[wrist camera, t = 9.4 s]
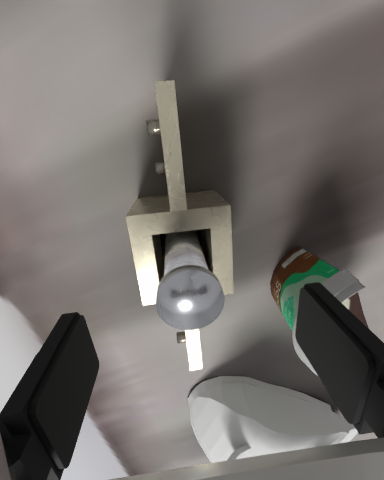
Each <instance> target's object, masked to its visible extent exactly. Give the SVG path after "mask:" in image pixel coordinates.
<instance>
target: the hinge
mask: <svg viewBox="0 0 384 480" xmlns="http://www.w3.org/2000/svg"><path fill="white" fill-rule="evenodd" d="M155 90H156V99H157V107H158V115H159V119H154V120H146V122H147V130H148V135H149V136H150V135H161V139H162V147H163V155H164V162H157V163H155V168H156V174H157V175H158V174H166V179H167V187H168V195H161V196H151V197H142V198H137V200H136V201H135V203H134V204H133V206H132V207H131V209H130V211H129V212H128V214H127V215H126V221H127V226H128V231H129V236H130V241H131V246H132V251H133V257H134V262H135V267H136V272H137V277H138V282H139V287H140V293H141V298H142V303H143V305H149V304H156V293H157V287H158V285H159V282H160V281H161V279H162V278H163V277H164V266H165V251H163V252H162V248H161V241H160V234H164V233H173V232H182V231H191V230H200V229H201V234H202V247H201V249H202V252H203V255H204V258H205V261H206V264H207V267H208V270H210V271H211V272H212V273H214V274H215V276H216V277H217V278H218V280H219V282H220V284H221V287H222V290H223V293H224V295H227V294H234V293H233V261H232V228H231V205H230V204H229V203H228V202H227V201H226V200H225V199H224V198H222V197H221V196H220V195H219V194H218V193H217V192H216V191H215V190H208V191H199V192H189V193H185V183H184V173H183V163H182V153H181V142H180V132H179V122H178V112H177V102H176V92H175V81H174V80H169V81H156V82H155ZM177 342H178V343H184V342H187V348H188V356H189V365H190V371H193V370H200V369H203V366H202V356H201V346H200V336H199V329H195V330H185V331H184V332H177Z"/></svg>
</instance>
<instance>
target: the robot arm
mask: <svg viewBox="0 0 384 480" xmlns="http://www.w3.org/2000/svg"><path fill="white" fill-rule="evenodd" d="M295 337H296V341H297V343H298V345H299V346H300V348H301V349H302V351H303V352H304V354H305V356H306V357H307V359H308V360H309V362H310V364H311V365H312V367H313V368H314V370H315V372H316V373H317V375H318V376H319V378H320V379H321V381H322V383H323V384H324V386H325V387H326V389H327V391H328V392H329V394H330V395H331V397H332V399H333V400H334V402H335V403H336V405H337V407H338V408H339V410H340V411H341V413H342V414H343V416H344V418H345V419H346V421H347V422H348V423H349V424H353V425H354V427H355V428H356V430H357V431H358V433H359V434H365V433H372V432H374V433H375V434H376V436H377V437H378V438H377V439H369V440H361V441H354V442H346V443H339V444H332V445H326V446H319V447H312V448H306V449H299V450H293V451H286V452H280V453H273V454H266V455H260V456H254V457H247V458H241V459H235V460H228V461H222V462H216V463H209V464H203V465H197V466H190V467H184V468H178V469H172V470H166V471H159V472H153V473H147V474H141V475H135V476H129V477H123V478H117V479H111V480H384V343H383V342H382V341H381V340H380V339H379V338H378V337H377V336H376V335H375V334H374V333H372V332H371V331H370V330H369V329H368V328H367V327H366V326H365V325H364V324H363V323H362V322H361V321H360V320H359V319H358V318H357V317H356V316H355V315H354V314H353V313H351V312H350V311H349V310H348V309H347V308H346V307H345V306H344V305H343V304H342V303H341V302H340V301H339V300H338V299H337V298H336V297H335V296H334V295H333V294H332V293H330V292H329V291H328V290H327V289H326V288H325V287H324V286H323V285H322V284H321V283H319V282H315V283H307V284H305V285H304V287H303V288H301V289H300V295H299V304H298V313H297V322H296V331H295ZM98 370H99V360H98V357H97V354H96V351H95V348H94V345H93V342H92V339H91V336H90V333H89V330H88V327H87V324H86V321H85V318H84V316H83V315H80V314H79V313H78V312H75V313H67V314H62V315H61V317H60V318H59V320H58V322H57V323H56V325H55V326H54V328H53V330H52V331H51V333H50V335H49V336H48V338H47V340H46V341H45V343H44V344H43V346H42V348H41V349H40V351H39V352H38V354H37V355H36V356H35V358H34V359H33V361H32V363H31V364H30V366H29V368H28V369H27V371H26V372H25V374H24V376H23V377H22V379H21V380H20V382H19V384H18V385H17V387H16V389H15V390H14V392H13V393H12V395H11V397H10V398H9V400H8V402H7V403H6V405H5V406H4V408H3V410H2V411H1V413H0V480H60V479H61V476H62V473H63V470H64V469H65V468H67V467H68V466H69V464H70V461H71V458H72V455H73V452H74V448H75V445H76V442H77V438H78V435H79V432H80V429H81V425H82V422H83V419H84V416H85V413H86V409H87V406H88V403H89V399H90V396H91V393H92V390H93V386H94V383H95V380H96V377H97V373H98Z"/></svg>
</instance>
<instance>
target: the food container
mask: <svg viewBox="0 0 384 480" xmlns="http://www.w3.org/2000/svg"><path fill="white" fill-rule="evenodd" d="M315 282H319V283H321V284H322V285H323V286H324V287H325V288H326V289H327V290H328V291H329V292H330V293H332V294H333V295H334V296H335V297H336V298H337V299H338V300H339V301H340V302H341V303H342V304H343V305H344V306H345V307H346V308H347V309H348V310H349V311H350V312H351V313H353V314H354V315H355V316H356V317H357V318H358V319H359V320H360V321H361V322H362V323H363V324H364V325H365V326H366V327H367V328H368V325H367V323H366V320H365V317H364V314H363V311H362V307H361V303H360V299H359V295H358V292H359V291H361V290H363V289H365V288H366V287H365V286H364V285H362V284H361V283H359V280H358V279H357V278H356V277H355V276H353V275H352V274H351V273H350V272H349V271H348V270H346V269H344V270H342V271H339V270H338V269H336V268H335V267H333V266H331V265H330V264H328V263H326V262H325V261H323V260H321V259H320V258H318V257H316V256H315V255H313V254H311V253H310V252H308V251H306V250H305V249H303V248H302V247H298V248H296V249H294V250H293V251H291V252H290V253H288V254H287V255H286V256H285V257H284V258H283V259H282V260H281V261H280V262H279V264H278V265H277V267H276V268H275V270H274V271H273V275H272V278H271V282H270V285H271V293H272V296H273V298H274V300H275V301H276V303H277V305H278V307H279V309H280V310H281V312H282V314H283V316H284V317H285V319H286V321H287V323H288V325H289V326H290V328H291V330H292V332H293V334H292V336H293V345H294V348H295V351H296V353H297V355H298V356H299V358H300V359H301V360H302V361H303V362H304V363H305V364H306V365H307V366H308V367H309V368H310V369H311V370H312V371H313V373H314V374H316V375H317V373H316V372H315V370H314V368H313V367H312V365H311V364H310V362H309V360H308V359H307V357H306V356H305V354H304V352H303V351H302V349H301V348H300V346H299V345H298V343H297V341H296V337H295V331H296V322H297V313H298V304H299V295H300V289H301V288H303V287H304V285H305V284H307V283H315ZM368 329H369V328H368ZM317 376H318V375H317ZM318 377H319V376H318Z"/></svg>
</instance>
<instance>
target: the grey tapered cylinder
mask: <svg viewBox="0 0 384 480" xmlns="http://www.w3.org/2000/svg"><path fill="white" fill-rule="evenodd" d="M223 306H224V293H223V290H222V287H221V284H220V282H219V280H218V278H217V277H216V276H215V274H214V273H212V272H211V271H210V270H208V267H207V264H206V261H205V258H204V255H203V252H202V249H201V246H200V243H199V240H198V237H197V234H196V231H195V230H191V231H182V232H173V233H166V240H165V266H164V277H163V278H162V279H161V281H160V282H159V285H158V287H157V293H156V309H157V312H158V314H159V316H160V317H161V319H162V320H163V321H164V322H165V323H167V324H168V325H170V326H172V327H174V328H177V329H181V330H195V329H199V328H202V327H205V326H207V325H209V324H210V323H212V322H213V321H214V320H215V319H216V318H217V317H218V316H219V314H220V313H221V311H222V309H223Z"/></svg>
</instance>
